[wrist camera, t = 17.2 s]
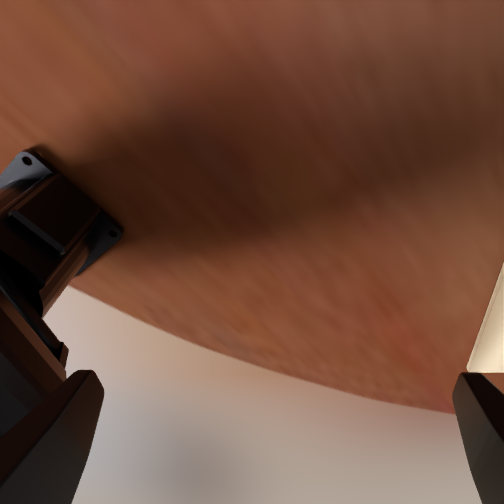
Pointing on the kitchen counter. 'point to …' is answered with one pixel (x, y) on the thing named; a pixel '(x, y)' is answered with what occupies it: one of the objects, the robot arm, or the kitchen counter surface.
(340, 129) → the kitchen counter surface
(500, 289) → the shaft plate
